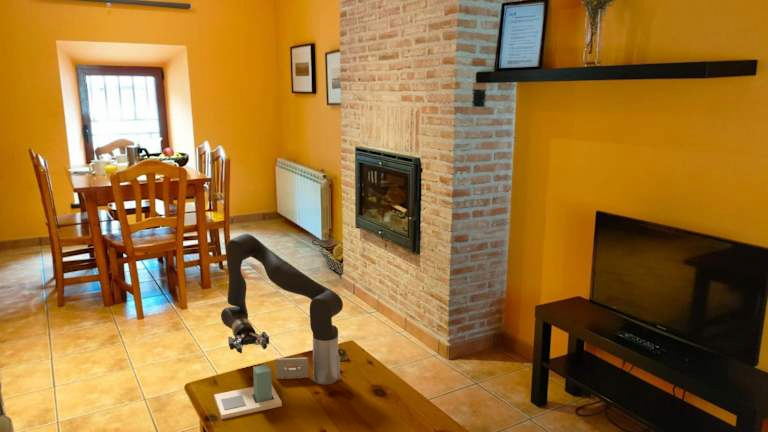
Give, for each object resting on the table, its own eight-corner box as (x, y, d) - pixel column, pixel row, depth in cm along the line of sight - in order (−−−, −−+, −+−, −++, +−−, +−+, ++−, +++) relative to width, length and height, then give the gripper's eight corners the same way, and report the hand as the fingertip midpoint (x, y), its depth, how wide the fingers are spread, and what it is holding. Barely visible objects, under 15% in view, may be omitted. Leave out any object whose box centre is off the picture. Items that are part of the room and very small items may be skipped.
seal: (309, 362, 230) (345, 366, 228) (308, 352, 229) (345, 355, 226) (315, 350, 239) (351, 353, 236) (315, 340, 238) (350, 343, 235)
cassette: (275, 379, 214) (275, 360, 212) (276, 377, 216) (275, 358, 214) (308, 378, 215) (308, 359, 214) (308, 375, 217) (308, 356, 216)
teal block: (268, 395, 202) (267, 364, 200) (271, 402, 198) (271, 370, 195) (254, 398, 200) (253, 366, 198) (257, 405, 196) (256, 373, 193)
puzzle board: (271, 387, 208) (271, 382, 208) (281, 406, 196) (281, 401, 195) (214, 398, 200) (214, 394, 199) (221, 419, 187) (221, 414, 187)
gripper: (224, 324, 217) (232, 342, 203) (261, 319, 223) (272, 336, 209) (224, 343, 219) (233, 361, 205) (261, 337, 225) (272, 355, 211)
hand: (253, 348), depth 207 cm, fingers open, 8 cm apart
